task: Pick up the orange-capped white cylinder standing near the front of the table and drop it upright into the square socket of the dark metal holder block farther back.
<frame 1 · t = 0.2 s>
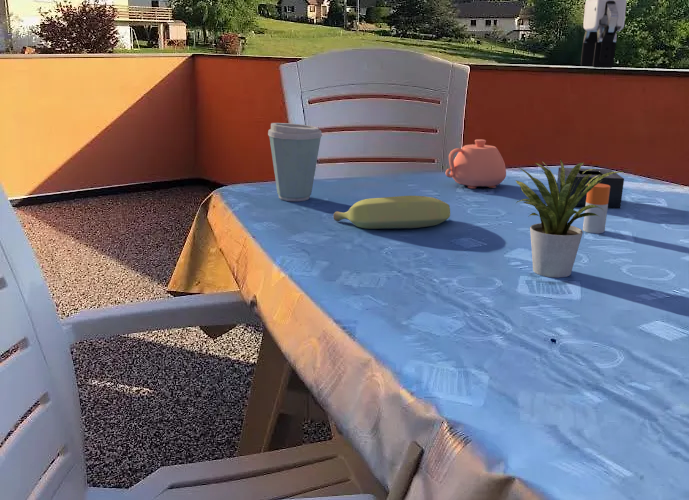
hand: (596, 66, 123), 27 cm above the table, tool pointing down, fingers open, 9 cm apart
banana: (390, 224, 125), on the table
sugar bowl: (473, 186, 159), on the table
disposable coffee cup: (295, 199, 143), on the table
orange-capped white cylinder: (593, 230, 122), on the table
holder: (586, 201, 145), on the table
house plant: (559, 272, 100), on the table
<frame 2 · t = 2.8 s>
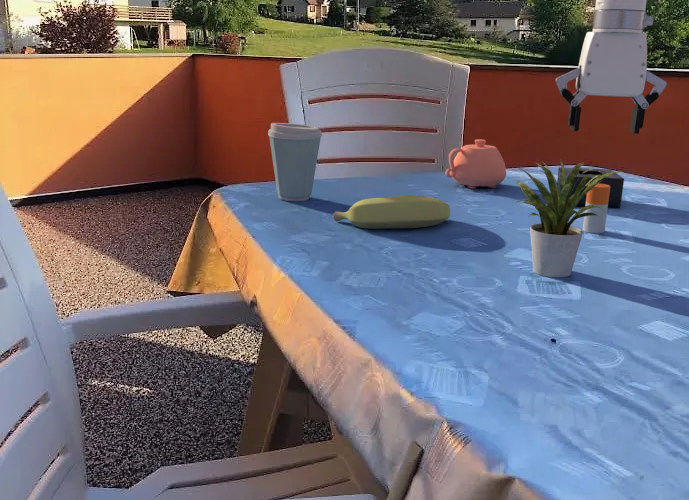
hand: (604, 131, 118), 17 cm above the table, tool pointing down, fingers open, 9 cm apart
nothing on the table moved.
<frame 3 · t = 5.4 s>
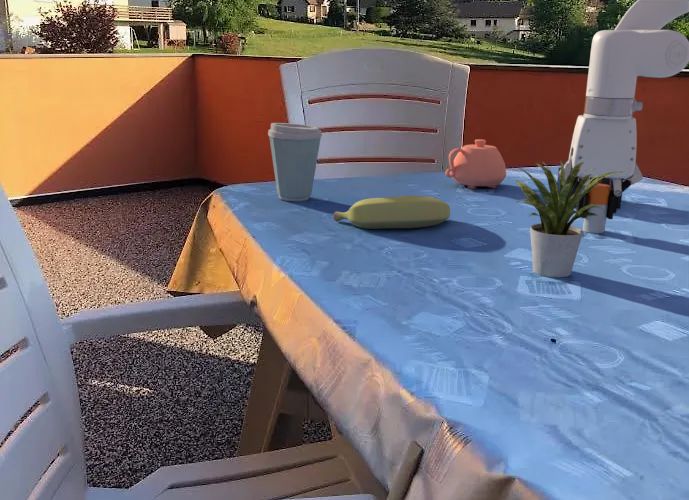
hand: (595, 215, 122), 3 cm above the table, tool pointing down, fingers closed on orange-capped white cylinder, 3 cm apart
orange-capped white cylinder: (593, 230, 122), on the table, touching gripper
everything else where it was.
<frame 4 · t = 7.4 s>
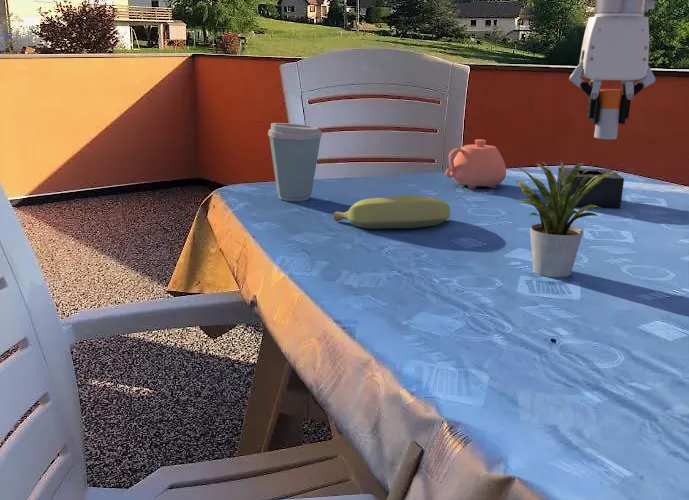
hand: (607, 121, 119), 18 cm above the table, tool pointing down, fingers closed on orange-capped white cylinder, 3 cm apart
orange-capped white cylinder: (605, 137, 120), point 16 cm above the table, touching gripper
everything else where it was.
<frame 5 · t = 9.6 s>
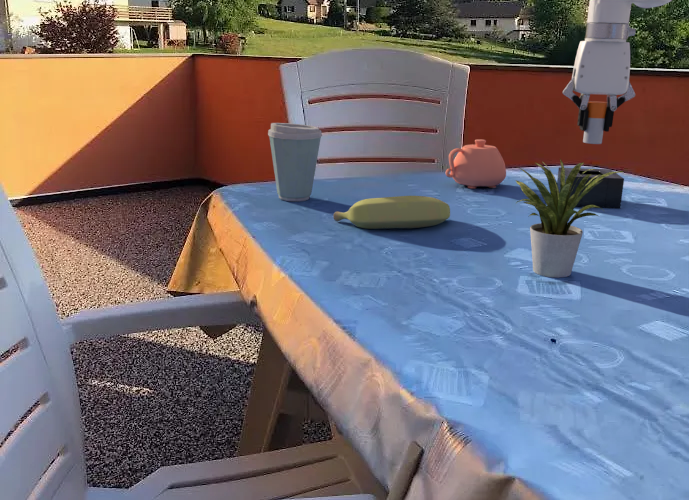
hand: (594, 129, 141), 15 cm above the table, tool pointing down, fingers closed on orange-capped white cylinder, 3 cm apart
orange-capped white cylinder: (592, 142, 141), point 12 cm above the table, touching gripper
everything else where it was.
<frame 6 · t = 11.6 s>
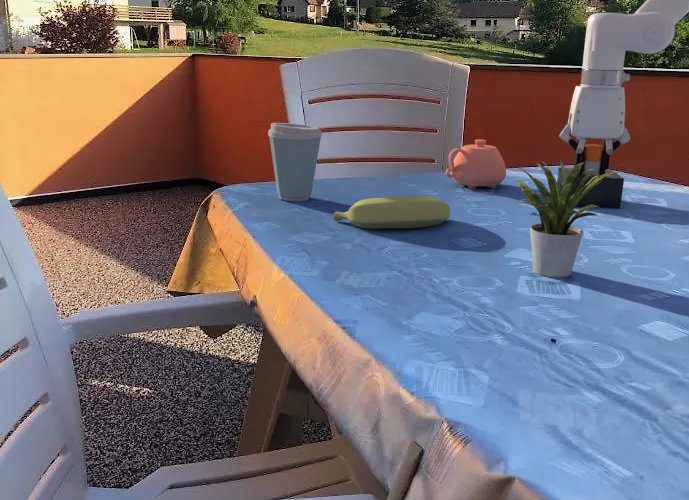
hand: (590, 171, 143), 6 cm above the table, tool pointing down, fingers closed on orange-capped white cylinder, 3 cm apart
orange-capped white cylinder: (588, 184, 144), point 4 cm above the table, touching gripper
everything else where it was.
when the fingers open (6 cm above the table, at t = 13.9 s): orange-capped white cylinder drops 4 cm, resting in holder.
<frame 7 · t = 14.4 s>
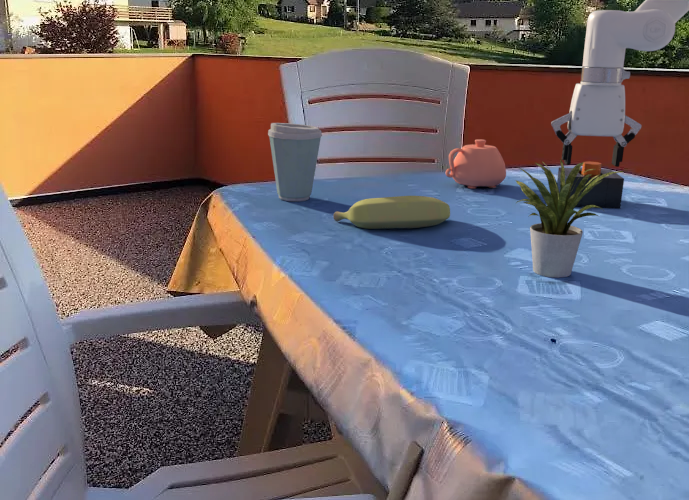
hand: (591, 164, 143), 8 cm above the table, tool pointing down, fingers open, 9 cm apart
orange-capped white cylinder: (587, 201, 145), resting in holder
everything else where it was.
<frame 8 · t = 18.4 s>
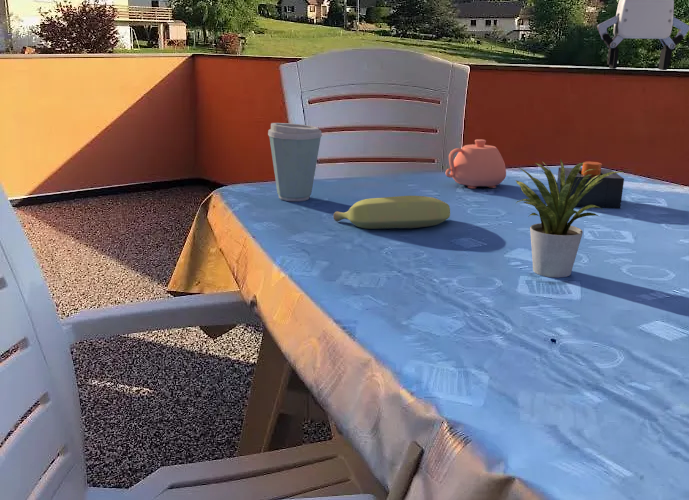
hand: (637, 69, 141), 26 cm above the table, tool pointing down, fingers open, 9 cm apart
nothing on the table moved.
at the end: orange-capped white cylinder 0.2 cm off-centre in the holder, point 0.0 cm above the holder's base; orange-capped white cylinder tilted 0°; the gripper is holding nothing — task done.
